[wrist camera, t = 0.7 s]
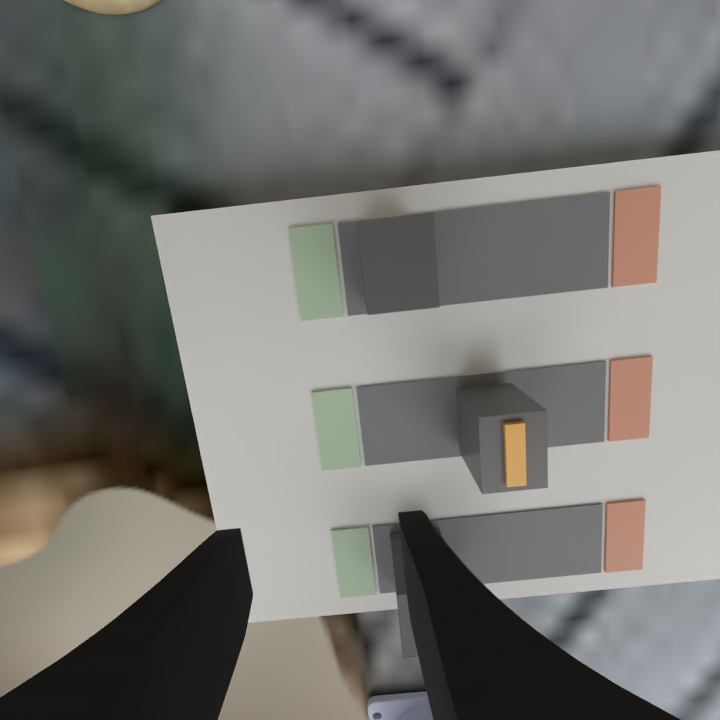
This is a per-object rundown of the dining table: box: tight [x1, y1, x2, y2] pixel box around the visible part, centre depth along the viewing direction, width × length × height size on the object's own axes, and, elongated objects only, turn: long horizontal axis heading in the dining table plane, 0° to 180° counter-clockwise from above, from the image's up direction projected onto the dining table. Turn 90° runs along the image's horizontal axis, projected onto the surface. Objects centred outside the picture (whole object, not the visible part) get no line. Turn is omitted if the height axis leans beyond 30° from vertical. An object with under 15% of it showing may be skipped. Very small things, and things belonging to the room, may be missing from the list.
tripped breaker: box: [456, 383, 548, 494], centre depth 16 cm, size 3×2×4 cm
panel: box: [151, 150, 720, 658], centre depth 18 cm, size 20×26×6 cm
